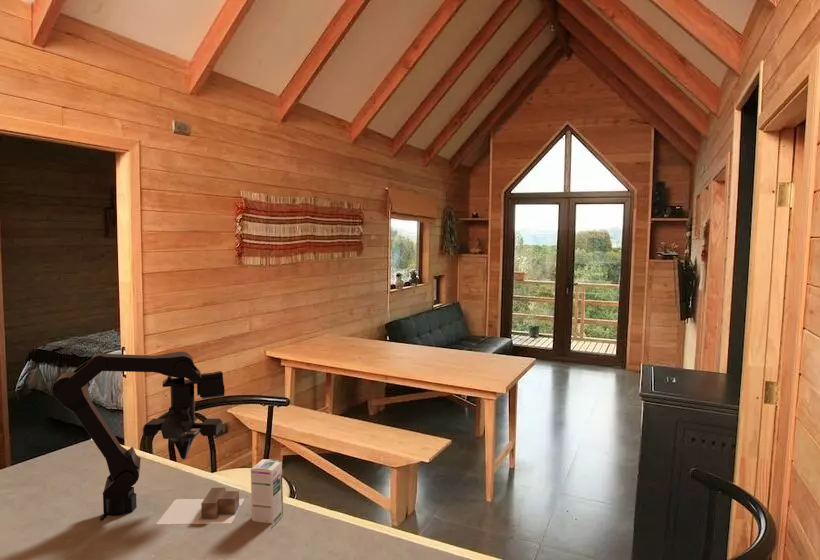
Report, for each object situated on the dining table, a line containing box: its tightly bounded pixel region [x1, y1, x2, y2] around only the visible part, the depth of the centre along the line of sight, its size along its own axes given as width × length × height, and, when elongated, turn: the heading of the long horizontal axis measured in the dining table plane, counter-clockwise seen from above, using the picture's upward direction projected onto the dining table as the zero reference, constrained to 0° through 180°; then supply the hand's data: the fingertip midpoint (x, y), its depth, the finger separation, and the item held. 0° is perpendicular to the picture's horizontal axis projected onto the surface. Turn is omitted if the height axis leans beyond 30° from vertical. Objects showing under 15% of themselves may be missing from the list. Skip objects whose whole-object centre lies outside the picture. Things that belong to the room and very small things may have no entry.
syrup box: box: [250, 459, 284, 528], centre depth 130 cm, size 6×6×14 cm
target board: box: [155, 498, 245, 525], centre depth 132 cm, size 18×12×1 cm, turn 93°
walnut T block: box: [201, 487, 240, 519], centre depth 133 cm, size 8×8×4 cm
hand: (184, 458), depth 138 cm, fingers closed
